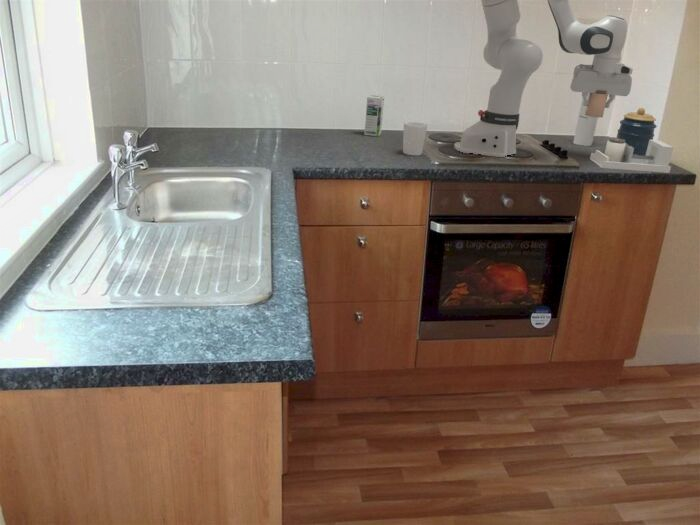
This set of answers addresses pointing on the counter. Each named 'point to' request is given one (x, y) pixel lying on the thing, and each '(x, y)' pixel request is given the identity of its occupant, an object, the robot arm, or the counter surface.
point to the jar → (596, 104)
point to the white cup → (414, 138)
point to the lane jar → (615, 149)
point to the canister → (637, 130)
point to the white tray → (654, 148)
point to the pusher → (633, 155)
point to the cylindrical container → (585, 127)
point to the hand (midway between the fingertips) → (595, 106)
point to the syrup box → (374, 115)
